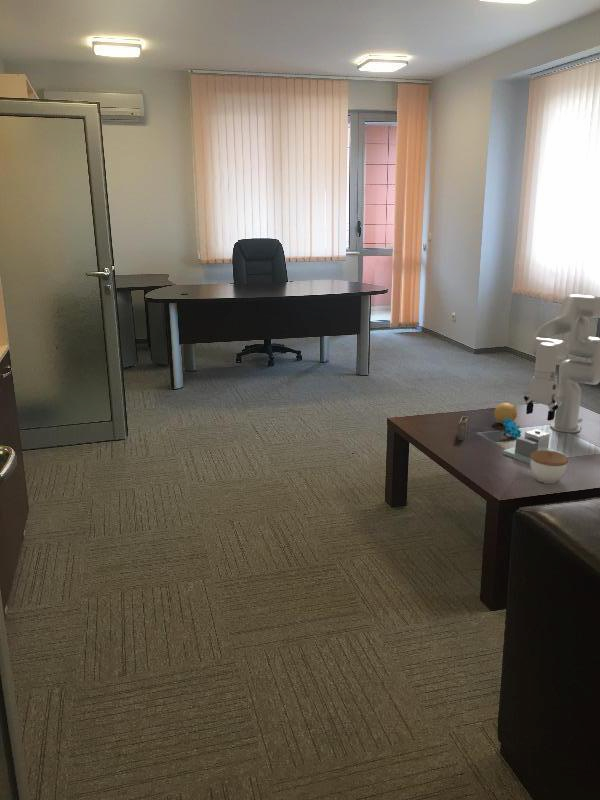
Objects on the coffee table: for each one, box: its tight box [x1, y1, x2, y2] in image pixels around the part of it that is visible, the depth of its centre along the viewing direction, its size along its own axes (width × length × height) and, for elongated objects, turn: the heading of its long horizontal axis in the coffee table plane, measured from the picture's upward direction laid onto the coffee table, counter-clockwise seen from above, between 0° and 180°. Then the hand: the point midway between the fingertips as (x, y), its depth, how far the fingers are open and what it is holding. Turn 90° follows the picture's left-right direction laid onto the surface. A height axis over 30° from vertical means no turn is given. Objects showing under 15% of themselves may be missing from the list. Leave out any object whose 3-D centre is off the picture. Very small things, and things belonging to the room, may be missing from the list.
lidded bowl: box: [529, 450, 569, 484], centre depth 233 cm, size 13×13×11 cm
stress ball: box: [494, 402, 518, 425], centre depth 296 cm, size 10×10×10 cm
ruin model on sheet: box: [457, 415, 469, 441], centre depth 279 cm, size 11×3×10 cm, turn 159°
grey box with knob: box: [524, 428, 551, 451], centre depth 257 cm, size 7×6×8 cm
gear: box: [502, 418, 522, 439], centre depth 281 cm, size 11×6×10 cm
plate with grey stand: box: [502, 436, 567, 465], centre depth 257 cm, size 18×16×8 cm
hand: (539, 416), depth 255 cm, fingers open, 9 cm apart
